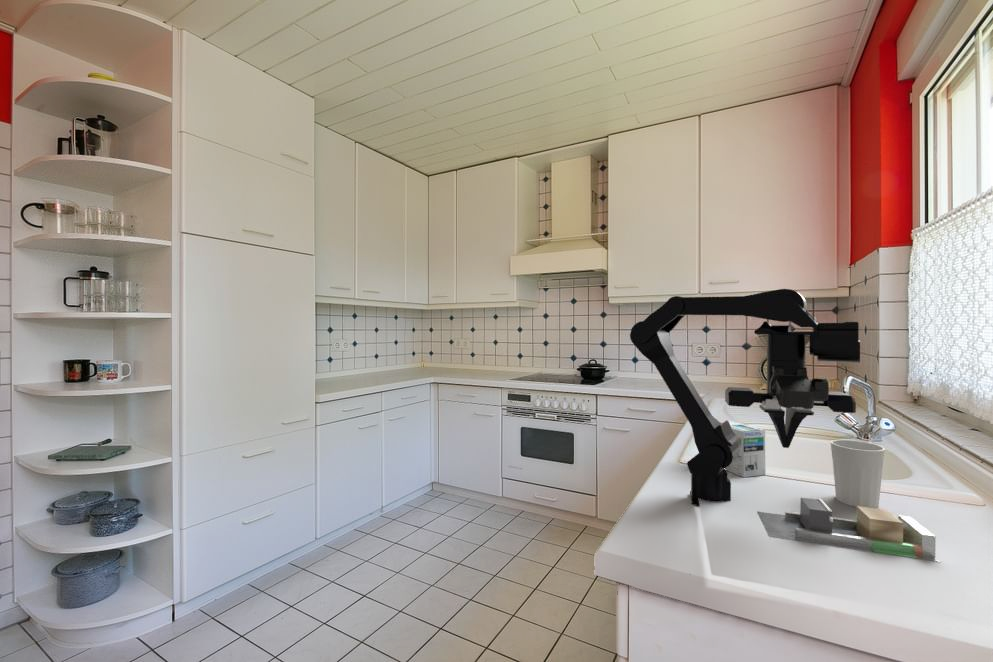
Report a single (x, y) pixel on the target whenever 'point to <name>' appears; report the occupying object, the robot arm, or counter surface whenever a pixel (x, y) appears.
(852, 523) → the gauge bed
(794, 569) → the counter surface
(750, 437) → the light bulb box
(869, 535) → the block
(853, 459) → the cup
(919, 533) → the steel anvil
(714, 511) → the counter surface
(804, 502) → the plunger
